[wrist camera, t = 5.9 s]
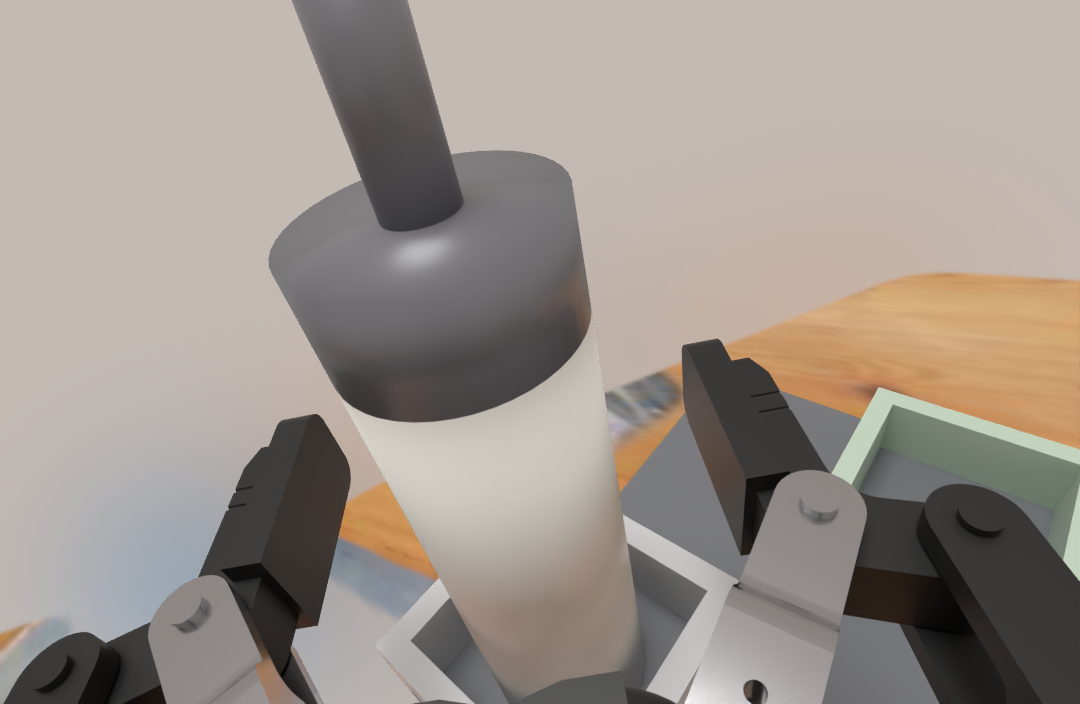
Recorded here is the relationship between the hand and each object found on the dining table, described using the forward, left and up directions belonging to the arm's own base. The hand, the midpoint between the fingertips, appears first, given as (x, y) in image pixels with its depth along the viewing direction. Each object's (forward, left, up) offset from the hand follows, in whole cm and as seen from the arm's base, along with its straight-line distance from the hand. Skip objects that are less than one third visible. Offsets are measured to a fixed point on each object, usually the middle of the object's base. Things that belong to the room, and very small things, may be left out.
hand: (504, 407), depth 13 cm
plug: (-1, -1, -9) cm, 9 cm away
